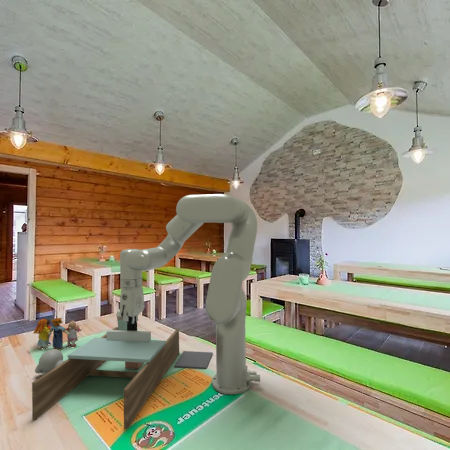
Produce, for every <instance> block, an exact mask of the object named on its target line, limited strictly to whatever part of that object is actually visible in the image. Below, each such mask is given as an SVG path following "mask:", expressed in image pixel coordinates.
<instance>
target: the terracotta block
mask: <svg viewBox="0 0 450 450" xmlns="http://www.w3.org/2000/svg"><path fill="white" fill-rule="evenodd" d="M143 364H144V363H142V362H124V366H125V367H124V368H125V369H133V370H135V369H136V370H139V369H140V368H141V367H142V366H143Z"/></svg>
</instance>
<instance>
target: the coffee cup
mask: <svg viewBox="0 0 450 450" xmlns="http://www.w3.org/2000/svg"><path fill="white" fill-rule="evenodd" d="M115 316H116V319H117V320H116V321H117V327H119V330H124V331H127V324H126V322H125V321H123V317H121V315H120V308H119V309H117V311H116V312H115Z"/></svg>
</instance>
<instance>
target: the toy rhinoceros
mask: <svg viewBox="0 0 450 450" xmlns="http://www.w3.org/2000/svg"><path fill="white" fill-rule="evenodd" d="M64 361H65V360H64V355H63V352H62V351H60V350H57V349H53V348H52V349H47V350H46V351H44V352H43V353H42V354H41V356H40V357H39V361H38V364H37V365H36V367H35V370H34V372H35V373H36V374H41V377H42V376H43V375H45V374H46V373H48V372H49V371H51V370H52V369H54V368H55V367H57V366H58V365H60V364H61V363H63V362H64Z"/></svg>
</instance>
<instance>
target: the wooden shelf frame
mask: <svg viewBox="0 0 450 450" xmlns="http://www.w3.org/2000/svg"><path fill="white" fill-rule="evenodd" d="M112 330H119V327H118V326H116V327H114V328H112ZM100 338H107V333H105V334H104V335H102V336H101V337H100ZM165 341H166V344H165V345H164V346H163V348H162V349H161V350H160V351H159V352H158V353H157V354H156V356H155V357H154V358H153V359H152V360H151V361H150V363H145V364H144V365H143V367H142V368H141V369H140V370H139V371H124V370H122V371H121V370H110V369H109V370H108V369H107V370H106V369H99V368H100V367H102V365H104V363H106V362H107V361H106V360H88V359H70V358H67V359H66V360H63V361H64V362H63V363H61V364H60V365H58V366H57V367H55V368H54V369H52V370H51V371H49V372H48V373H46V374H45V375H43V376H42V375H41V376H40V377H39V378H38V379H36V380H34V381H33V382H32V383H31V393H32V395H31V399H32V400H31V401H32V403H31V404H32V405H31V409H32V413H31V414H32V419H31V420H34V421H37V420H38V419H39V418H40V417H41V416H42V415H43V414H45V413H46V412H47V411H48V410H50V409H51V408H52V407H53V406H54V405H56V404H57V403H58V402H60V401H61V400H62V399H63V398H64V397H65V396H66V395H68V394H69V393H70V392H71V391H72V390H73V389H75V388H76V387H78V385H79V384H81V383H82V382H83V381H84V380H86V379H87V378H88V377H89V376H93V377H94V376H97V377H111V378H112V377H113V378H128V379H131V380H130V381H129V382H128V383H127V385H126V386H125V387H124V388H123V389H122V390H123V428H124V429H127V428H128V429H129V428H130V426H131V424H132V423H133V422H134V420H135V419H136V417H137V416H138V414H139V413H140V412H141V410H142V408H143V407H144V406H145V404H146V402H147V401H149V398H150V396H151V395H152V394H153V392H154V391H155V390H156V388H157V387H158V386H159V384H160V382H161V381H162V379H163V378H164V377H165V375H166V374H167V372H169V371H168V370H169V369H170V368H171V367H172V365H173V363H174V362H175V361H176V359H177V357H178V356H179V354H180V329H179V328H176V329H175V330H174V331H173V333H172V334H171V335H170V336H169V337H168V338H167V339H166V340H165Z"/></svg>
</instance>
